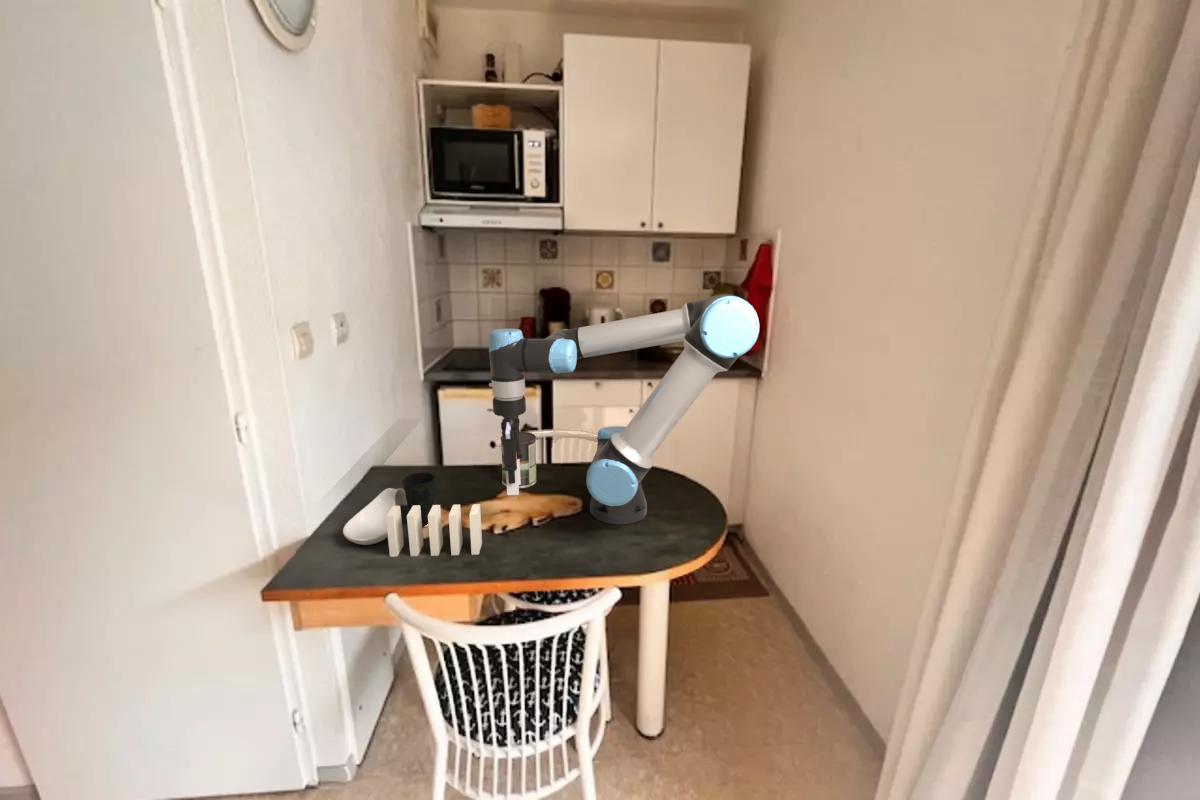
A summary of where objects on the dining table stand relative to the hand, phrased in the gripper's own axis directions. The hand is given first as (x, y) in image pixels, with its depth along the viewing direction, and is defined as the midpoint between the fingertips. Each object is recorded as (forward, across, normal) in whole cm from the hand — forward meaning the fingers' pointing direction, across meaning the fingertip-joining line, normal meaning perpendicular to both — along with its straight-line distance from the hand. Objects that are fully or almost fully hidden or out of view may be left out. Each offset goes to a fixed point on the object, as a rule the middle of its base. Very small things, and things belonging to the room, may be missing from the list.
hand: (514, 489), depth 127 cm
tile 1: (+11, +9, -8) cm, 16 cm away
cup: (+10, -4, -24) cm, 26 cm away
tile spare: (+1, 0, 0) cm, 1 cm away
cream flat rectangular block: (+10, +9, -26) cm, 30 cm away
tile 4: (+10, +9, -22) cm, 26 cm away
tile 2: (+10, +9, -13) cm, 19 cm away
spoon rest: (+10, -3, -33) cm, 35 cm away
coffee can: (+11, -28, -2) cm, 30 cm away
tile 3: (+10, +9, -17) cm, 22 cm away
